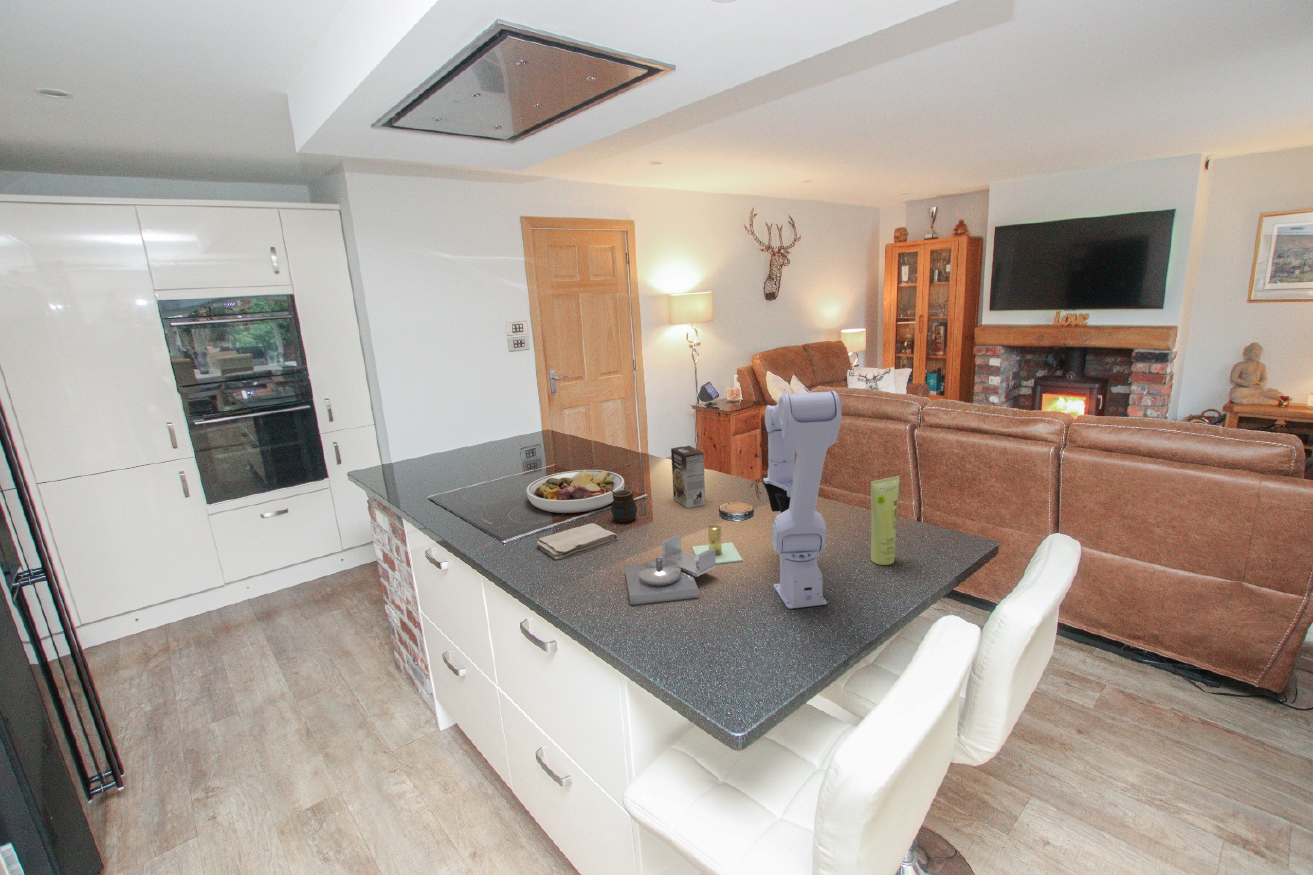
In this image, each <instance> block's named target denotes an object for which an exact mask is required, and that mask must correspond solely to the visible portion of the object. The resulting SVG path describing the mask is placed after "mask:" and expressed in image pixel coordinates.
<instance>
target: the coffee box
mask: <svg viewBox="0 0 1313 875" xmlns="http://www.w3.org/2000/svg"><path fill="white" fill-rule="evenodd" d="M670 451H671V473H672V474H671V475H672V488H673V489H672V491H673V493H672V494H673V500H674V501H675V502H677V503H678V504H680V505H681V506H683V507H685V508H686V509H691V508H695V507H700V506H705V505H706V489H705V486H706V484H705V452H704V451H702V450H700V449H697V448H695V447H693V446H690V445H686V446H685V445H684V446H677V447H673V448H670Z"/></svg>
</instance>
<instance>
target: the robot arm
mask: <svg viewBox="0 0 1313 875" xmlns="http://www.w3.org/2000/svg"><path fill="white" fill-rule="evenodd" d="M840 398H841V397H840V395H839V394H838V393H837V392H836V391H835V390H829V391H819V392H814V391H813V392H799V393H786V392H784V393H782V394H781V396H780V397H779V399H778V402H777V404H776V405H769V404H767V405H766V407H765V410H764V425H765V428H766V432H767V438H768V440H767V441H768V442H767V447H768V448H767V449H768V454H767V456H768V458H767V459H768V462H767V463H768V469H767V477H764V478H763V479H762V480H763V481H762V485H763V486H764V488H765V491H766V493H767V496H768V501H769V505H770V509H771V512H772V513H774V512H780V513H778V514H777V515H776V516H775V519H774V521H773V524H772V525H771V544H772V548H773V551H774V552H775V553H776V554H777V555H779V583H774V584H773V588H774V589H775V591H776V593H777V594H778V596H779V597H780V599H781V600H782V602H783V603H784V605H785V606H786V608H787V609H790V610H791V609H799V608H806V607H815V606H823V605H824V606H825V605H827V604H828V601H827V600H826V599H825V597H824V595H823V593H824V592H823V589H824V588H823V586H824V585H823V581H824V580H823V579H824V578H823V573H822V571H821V570H820V568H819V565H818V560H817V559H818V558H819V557H820V553H821V552H824V550H825V548H826V547H827V546H826V545H827V526H826V522H825V519H824V517H823V515H822V513H820V512H819V511H817V510H816V507H817V501H818V496H819V491H820V486H821V485H820V484H821V480H822V475H823V471H824V470H823V469H824V465H825V460H826V455H827V451H828V449H829V448H830V447H831V446H833V445H835V443H837V440H838V436H839V433H840V428H841V424H842V418H843V415H842V403H841V402H842V401H841V399H840Z"/></svg>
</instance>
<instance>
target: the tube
mask: <svg viewBox="0 0 1313 875" xmlns="http://www.w3.org/2000/svg"><path fill="white" fill-rule="evenodd" d="M900 479H901V478H900V475H896V476H892V477H887V478H882V479H881V478H880V479H877V480H872V481H870V504H871V506H870V507H871V509H870V510H871V514H870V515H871V523H870V524H871V528H870V529H871V534H870V535H871V537H870V538H871V540H870V541H871V542H870V560H871V561H872V563H874V564H876V565H879V566H880V565H881V566H889V565H892V564H894V563H895V554H896V536H897V535H896V534H897V517H898V504H899V491H900V490H899V489H900Z"/></svg>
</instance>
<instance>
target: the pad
mask: <svg viewBox="0 0 1313 875" xmlns="http://www.w3.org/2000/svg"><path fill="white" fill-rule="evenodd" d="M691 548H692V551H693V553H694V554H693V555H695V556H696V555H698V554H700V553H703V552H705V551H707V550H709V544H703V545H694V546H692V547H691ZM738 562H739V563H741V562H744V560H743V558H742V556H741V555H740V553H739V551H738V550H737V548H736V547H735V545H734V543H733V542H724V543H722V554H721V555H719V556H716V565H722V564H733V563H738Z"/></svg>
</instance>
